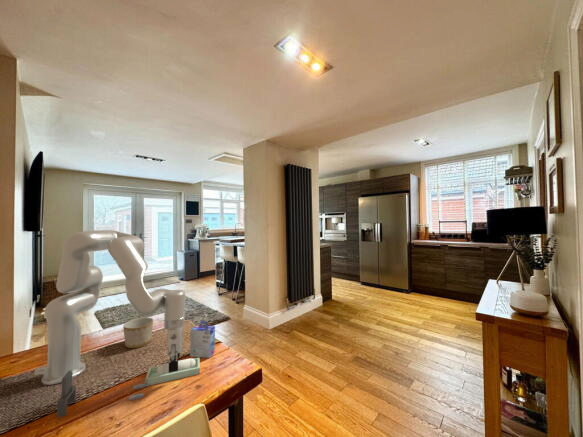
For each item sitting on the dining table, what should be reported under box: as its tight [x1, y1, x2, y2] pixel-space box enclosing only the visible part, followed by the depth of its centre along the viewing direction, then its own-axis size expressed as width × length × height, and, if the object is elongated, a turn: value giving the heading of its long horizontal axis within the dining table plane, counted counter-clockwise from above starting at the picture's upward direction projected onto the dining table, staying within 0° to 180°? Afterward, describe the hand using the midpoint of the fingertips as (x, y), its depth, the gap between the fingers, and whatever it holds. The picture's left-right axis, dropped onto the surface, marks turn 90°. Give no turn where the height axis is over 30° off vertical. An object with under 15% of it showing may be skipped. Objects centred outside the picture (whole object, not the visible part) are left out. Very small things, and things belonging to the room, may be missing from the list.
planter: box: [123, 316, 154, 349], centre depth 117 cm, size 13×13×10 cm
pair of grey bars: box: [129, 382, 148, 401], centre depth 83 cm, size 4×7×1 cm, turn 22°
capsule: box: [157, 357, 196, 375], centre depth 94 cm, size 14×4×4 cm, turn 112°
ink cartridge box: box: [189, 320, 216, 359], centre depth 107 cm, size 10×6×14 cm, turn 84°
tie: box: [56, 370, 77, 419], centre depth 76 cm, size 2×7×11 cm, turn 22°
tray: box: [144, 357, 201, 387], centre depth 93 cm, size 19×8×2 cm, turn 112°
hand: (174, 364), depth 93 cm, fingers open, 9 cm apart
